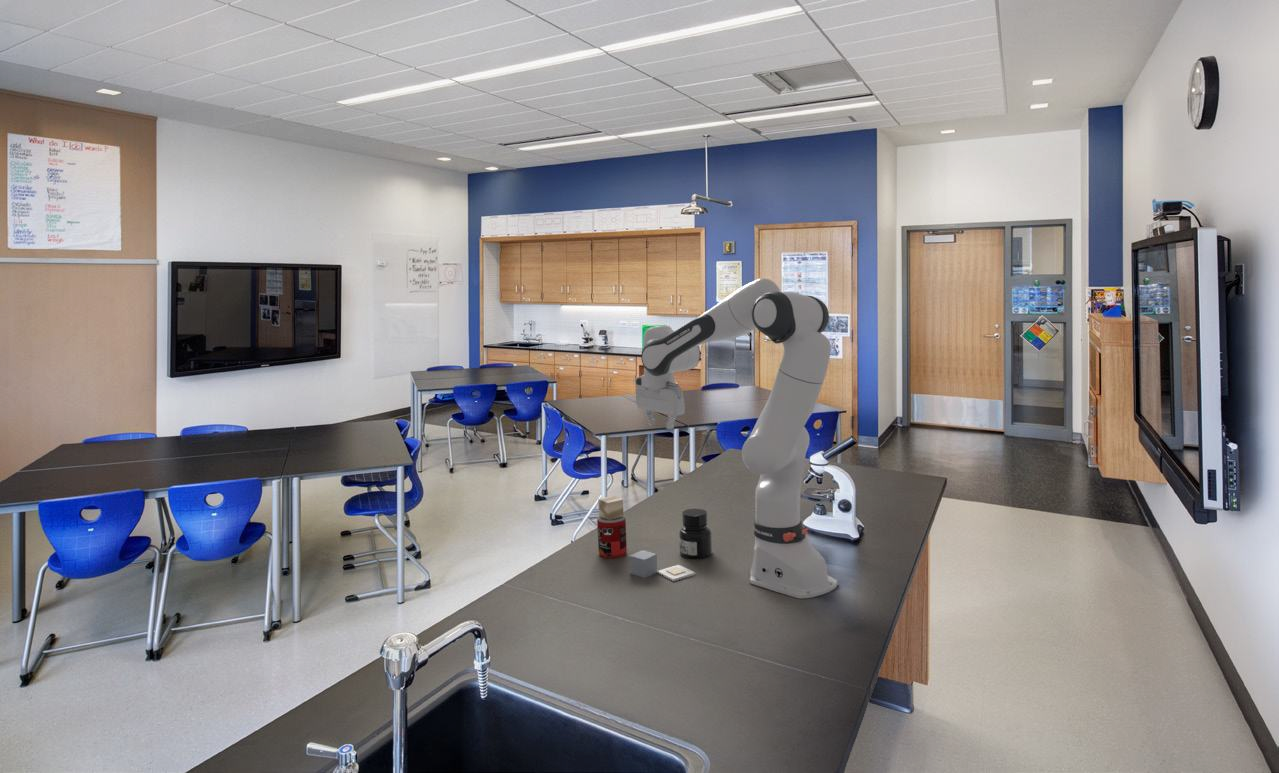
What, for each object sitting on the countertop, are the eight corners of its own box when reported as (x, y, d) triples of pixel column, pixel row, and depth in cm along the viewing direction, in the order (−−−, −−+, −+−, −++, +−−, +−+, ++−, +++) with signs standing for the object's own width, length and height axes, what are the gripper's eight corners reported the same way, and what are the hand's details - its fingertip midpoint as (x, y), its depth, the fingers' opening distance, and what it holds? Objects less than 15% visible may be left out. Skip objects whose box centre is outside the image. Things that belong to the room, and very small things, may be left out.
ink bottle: (674, 550, 202) (673, 509, 201) (702, 545, 205) (701, 505, 204) (688, 562, 193) (687, 519, 192) (717, 556, 196) (716, 514, 195)
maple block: (623, 516, 200) (622, 499, 199) (608, 520, 197) (607, 502, 196) (614, 512, 204) (613, 495, 203) (599, 516, 201) (598, 498, 200)
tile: (694, 574, 185) (694, 571, 185) (673, 581, 181) (673, 578, 181) (678, 566, 190) (678, 563, 190) (657, 573, 187) (657, 569, 186)
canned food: (594, 552, 204) (592, 514, 202) (620, 547, 207) (618, 510, 206) (604, 560, 197) (603, 522, 195) (631, 555, 200) (629, 517, 199)
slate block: (657, 572, 188) (656, 554, 187) (644, 578, 184) (644, 559, 183) (643, 568, 191) (642, 550, 190) (630, 574, 187) (629, 555, 186)
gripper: (689, 382, 204) (690, 430, 206) (648, 376, 221) (650, 420, 222) (671, 384, 200) (673, 433, 202) (631, 378, 217) (633, 423, 219)
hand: (660, 426), depth 212 cm, fingers open, 8 cm apart
